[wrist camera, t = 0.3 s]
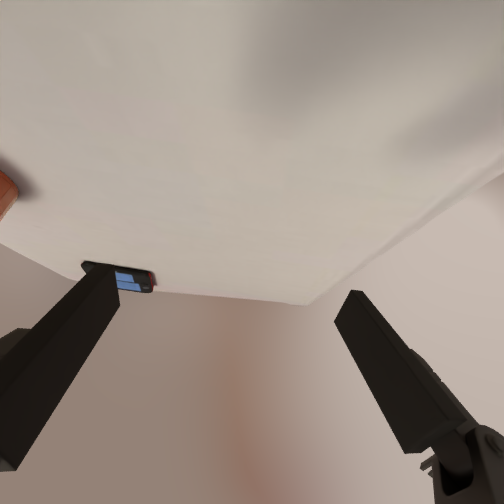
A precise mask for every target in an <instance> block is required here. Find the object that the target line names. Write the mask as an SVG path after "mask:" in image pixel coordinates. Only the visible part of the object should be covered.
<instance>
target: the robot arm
mask: <svg viewBox="0 0 504 504" xmlns="http://www.w3.org/2000/svg"><path fill="white" fill-rule="evenodd" d="M119 306H120V301H119V295H118V287H117V280H116V273H115V266H114V265H111V264H101V263H97V264H96V265H95V266H94V267H93V268H92V269H91V270H90V271H89V272H88V273H87V274H86V275H85V276H84V277H83V278H82V279H81V280H80V281H79V282H78V283H77V284H76V285H75V286H74V287H73V288H72V289H71V290H70V291H69V292H68V293H67V294H66V295H65V296H64V297H63V298H62V299H61V300H60V301H59V302H58V303H57V304H56V305H55V306H54V307H53V308H52V309H51V310H50V311H49V312H48V313H47V314H46V315H45V316H44V317H43V318H42V319H41V320H40V321H39V322H38V323H37V324H36V325H35V326H34V327H33V328H32V329H23V328H17V329H15V330H14V331H12V332H10V333H9V334H7V335H5V336H4V337H2V338H0V472H3V471H16V470H17V468H18V467H19V465H20V464H21V462H22V461H23V459H24V457H25V456H26V454H27V453H28V451H29V449H30V448H31V446H32V445H33V443H34V441H35V440H36V438H37V437H38V435H39V434H40V432H41V430H42V429H43V427H44V426H45V424H46V422H47V421H48V419H49V418H50V416H51V415H52V413H53V411H54V410H55V408H56V407H57V405H58V403H59V402H60V400H61V399H62V397H63V395H64V394H65V392H66V391H67V389H68V388H69V386H70V384H71V383H72V381H73V380H74V378H75V376H76V375H77V373H78V372H79V370H80V368H81V367H82V365H83V364H84V362H85V361H86V359H87V357H88V356H89V354H90V353H91V351H92V349H93V348H94V346H95V345H96V343H97V341H98V340H99V338H100V336H101V335H102V334H103V332H104V330H105V329H106V327H107V326H108V324H109V322H110V321H111V319H112V317H113V316H114V315H115V313H116V311H117V310H118V308H119ZM334 323H335V325H336V327H337V329H338V331H339V332H340V334H341V336H342V338H343V340H344V342H345V343H346V345H347V347H348V349H349V351H350V353H351V355H352V357H353V358H354V360H355V362H356V364H357V366H358V368H359V370H360V371H361V373H362V375H363V377H364V379H365V381H366V383H367V385H368V386H369V388H370V390H371V392H372V394H373V396H374V398H375V399H376V401H377V403H378V405H379V407H380V409H381V411H382V412H383V414H384V416H385V418H386V420H387V422H388V423H389V426H390V427H391V429H392V431H393V433H394V435H395V437H396V439H397V440H398V442H399V444H400V446H401V448H402V450H403V452H404V453H405V454H408V453H422V452H423V451H424V450H426V449H427V448H429V447H430V446H431V448H432V449H433V451H434V453H435V454H434V455H433V456H431V457H430V458H428V459H427V460H425V461H424V462H422V463H421V466H420V469H421V470H423V471H424V470H426V469H427V468H429V467H430V466H432V470H431V471H430V472H429V473H428V475H429V476H431V477H432V478H433V487H434V499H435V504H504V437H503V436H502V435H501V434H499V433H498V432H496V431H495V430H494V429H491V428H490V427H487V426H485V425H479V424H478V423H477V422H476V420H475V419H474V418H473V417H472V416H471V415H470V414H469V412H468V411H467V410H466V409H465V408H464V406H463V405H462V404H461V403H460V402H459V401H458V399H457V398H456V397H455V396H454V395H453V393H452V392H451V391H450V390H449V389H448V387H447V386H446V385H445V384H444V383H443V382H441V379H440V378H439V377H438V376H437V374H436V373H435V372H433V370H432V368H431V367H430V366H429V365H428V364H427V362H426V361H425V360H424V359H423V358H422V357H421V356H420V355H418V354H417V353H416V352H415V351H414V350H412V349H409V348H408V346H407V345H406V344H405V343H404V341H403V340H402V339H401V338H400V337H399V335H398V334H397V333H396V332H395V331H394V329H393V328H392V327H391V326H390V324H389V323H388V322H387V321H386V319H385V318H384V317H383V316H382V315H381V313H380V312H379V311H378V310H377V308H376V307H375V306H374V305H373V304H372V302H371V301H370V300H369V299H368V297H367V296H366V295H365V294H364V292H363V291H358V290H351V291H350V293H349V294H348V296H347V298H346V300H345V302H344V304H343V306H342V308H341V309H340V311H339V313H338V315H337V317H336V319H335V320H334Z"/></svg>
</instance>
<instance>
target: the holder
mask: <svg viewBox="0 0 504 504" xmlns="http://www.w3.org/2000/svg"><path fill="white" fill-rule="evenodd" d="M18 196H19V191H18V188H17V187H16V185H15V184H14V183H13V181H12V180H11V179H10V178H9V177H7V176H6V175H5V174H4V173H3V172H2V171H0V221H1V220H2V219H3V217H4V216H5V215H6V213H7V212H8V211H9V209H10V208H11V207H12V205H13V204H14V203H15V201H16V199H17V197H18Z"/></svg>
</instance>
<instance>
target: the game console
mask: <svg viewBox="0 0 504 504" xmlns="http://www.w3.org/2000/svg"><path fill="white" fill-rule="evenodd" d="M96 264H97V263H91V262H83V263H82V264H81V267H82V268H83V270H84V271H85V273H86V274H87V273H88V272H89V271H90V270H91V269H92V268H93V267H94V266H95V265H96ZM115 273H116V280H117V287H118V289H121V290H128V291H135V292H141V293H151V292H152V291H153V284H152V279H151V274H150V273H149V272H145V271H139V270H133V269H127V268H121V267H115Z"/></svg>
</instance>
